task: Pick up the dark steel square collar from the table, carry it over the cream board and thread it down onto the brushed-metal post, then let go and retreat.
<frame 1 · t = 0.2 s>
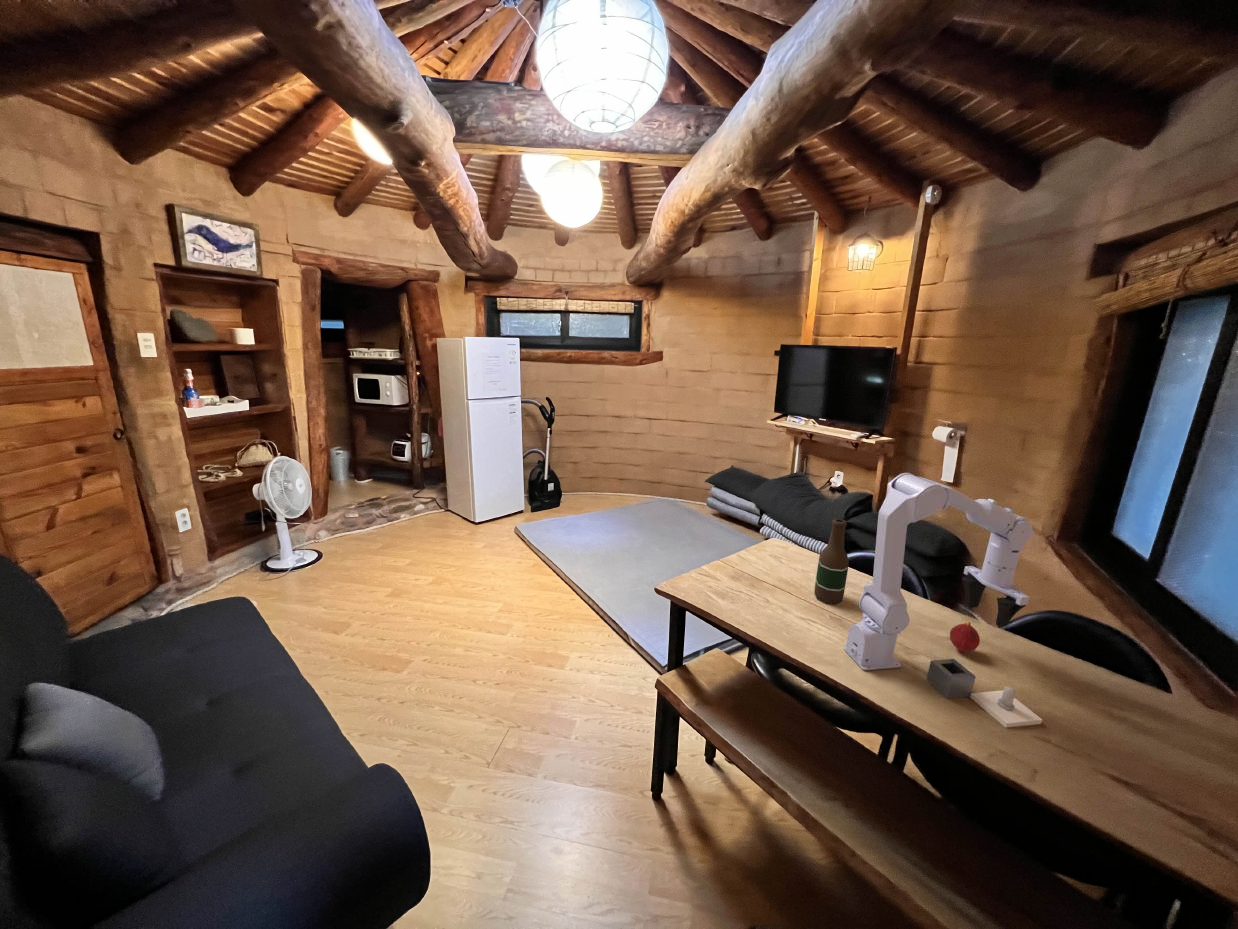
hand: (986, 615, 111), 10 cm above the table, fingers open, 7 cm apart
post block: (1004, 710, 96), on the table
collar: (948, 688, 101), on the table
onion: (961, 651, 114), on the table
beer bottle: (827, 598, 136), on the table
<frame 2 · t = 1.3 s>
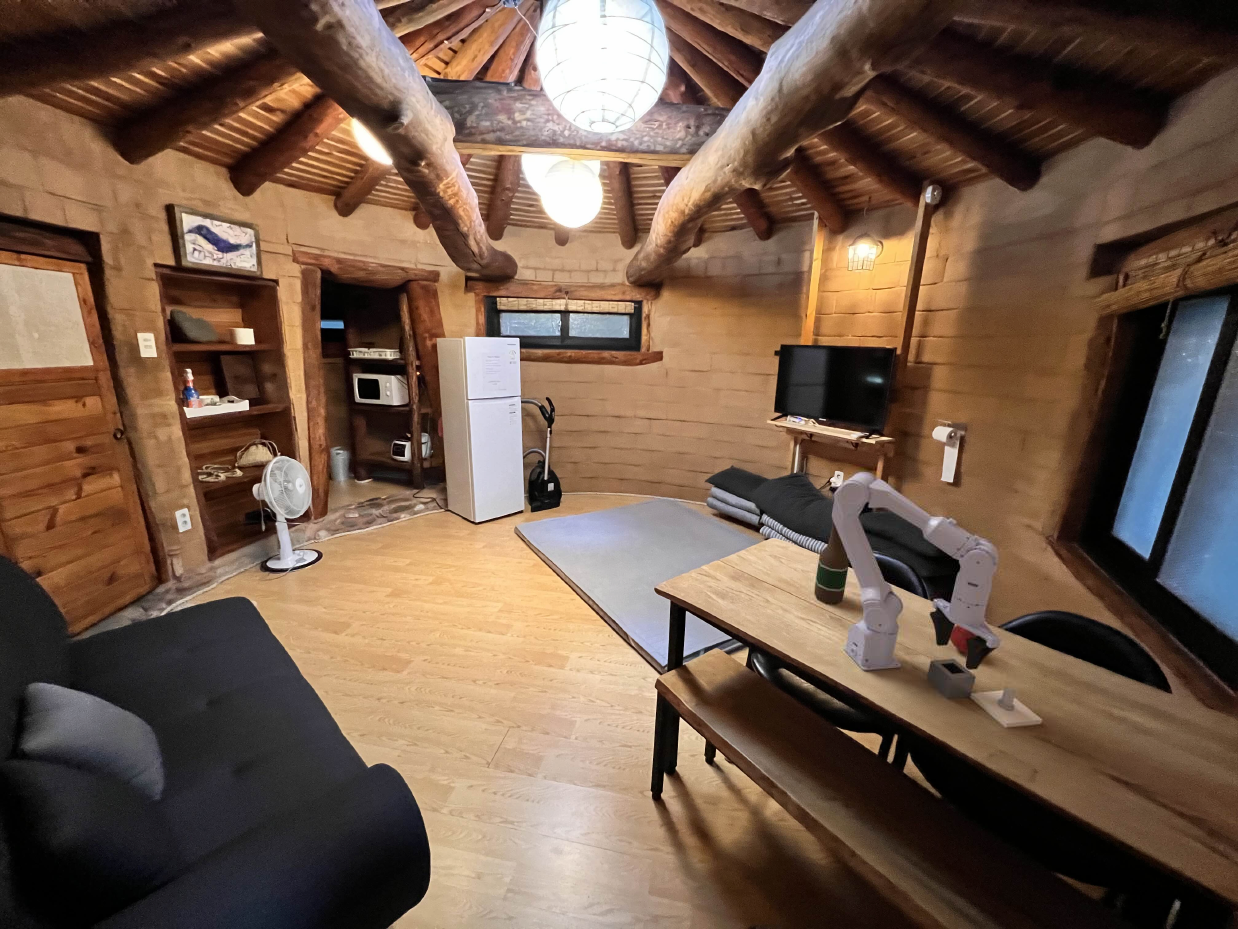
hand: (956, 656, 99), 8 cm above the table, fingers open, 7 cm apart
nothing on the table moved.
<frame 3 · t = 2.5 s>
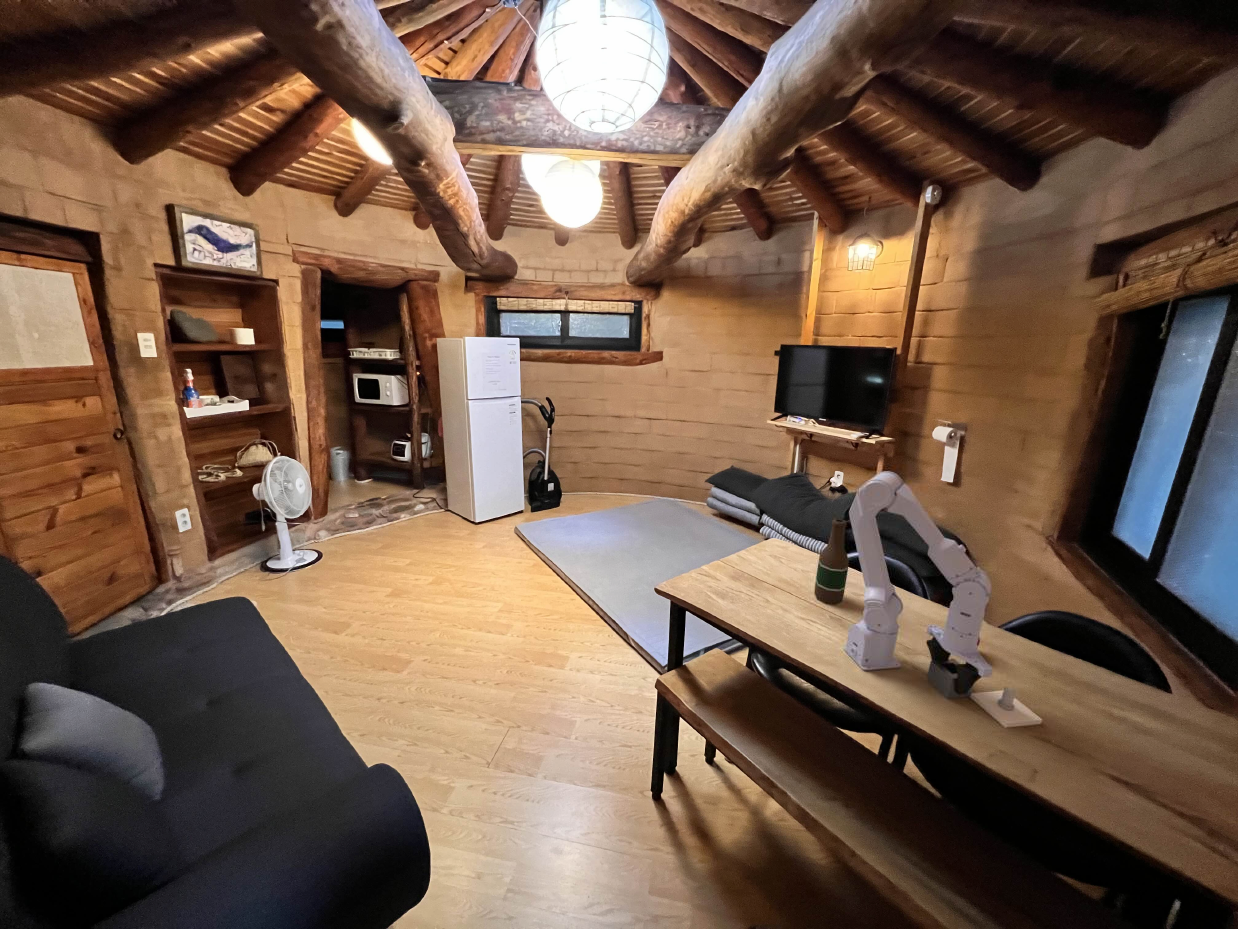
hand: (949, 682, 101), 1 cm above the table, fingers closed on collar, 6 cm apart
collar: (948, 688, 101), on the table, touching gripper
everything else where it was.
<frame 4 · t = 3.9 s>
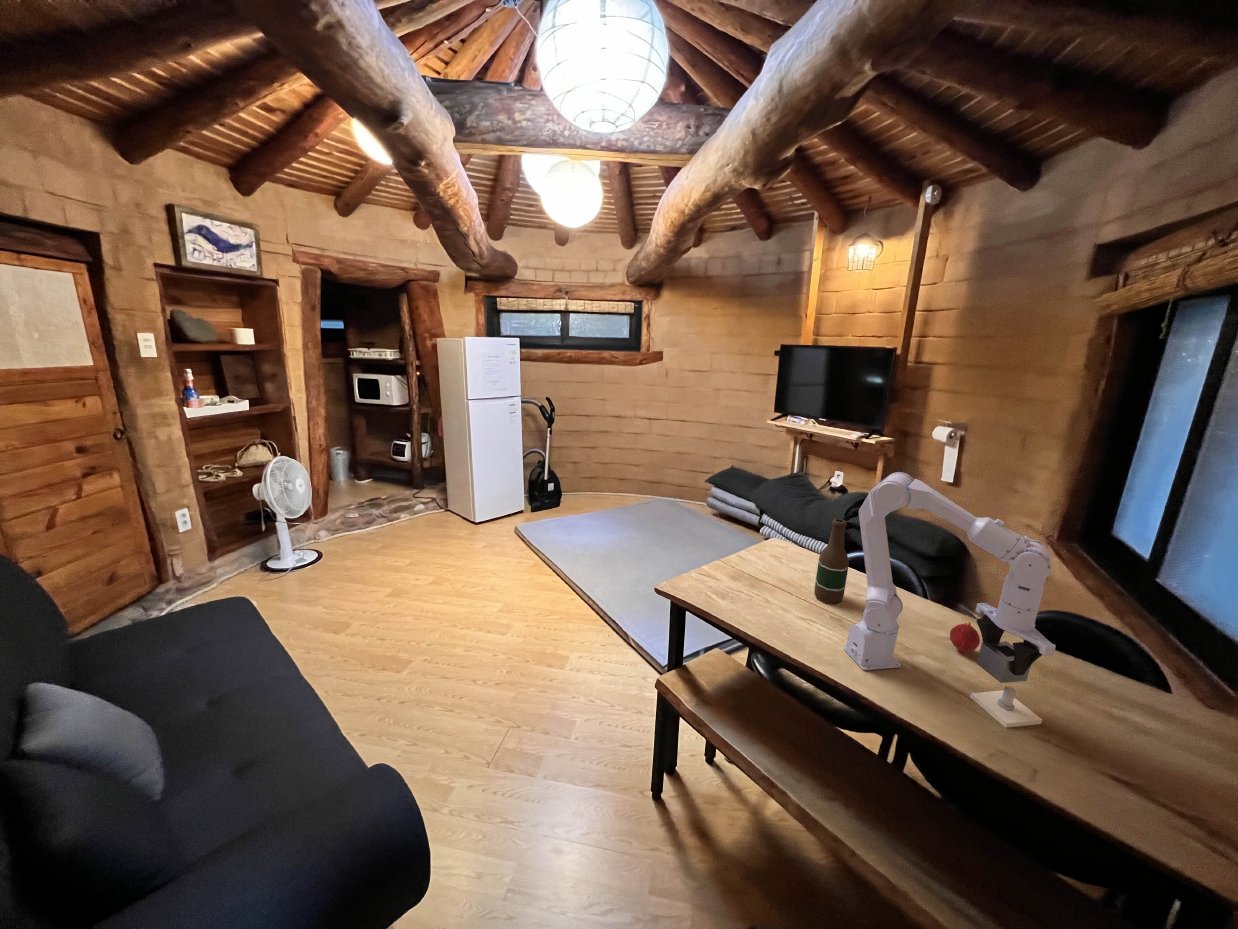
hand: (1003, 663, 94), 10 cm above the table, fingers closed on collar, 6 cm apart
collar: (1000, 672, 95), point 8 cm above the table, touching gripper
everything else where it was.
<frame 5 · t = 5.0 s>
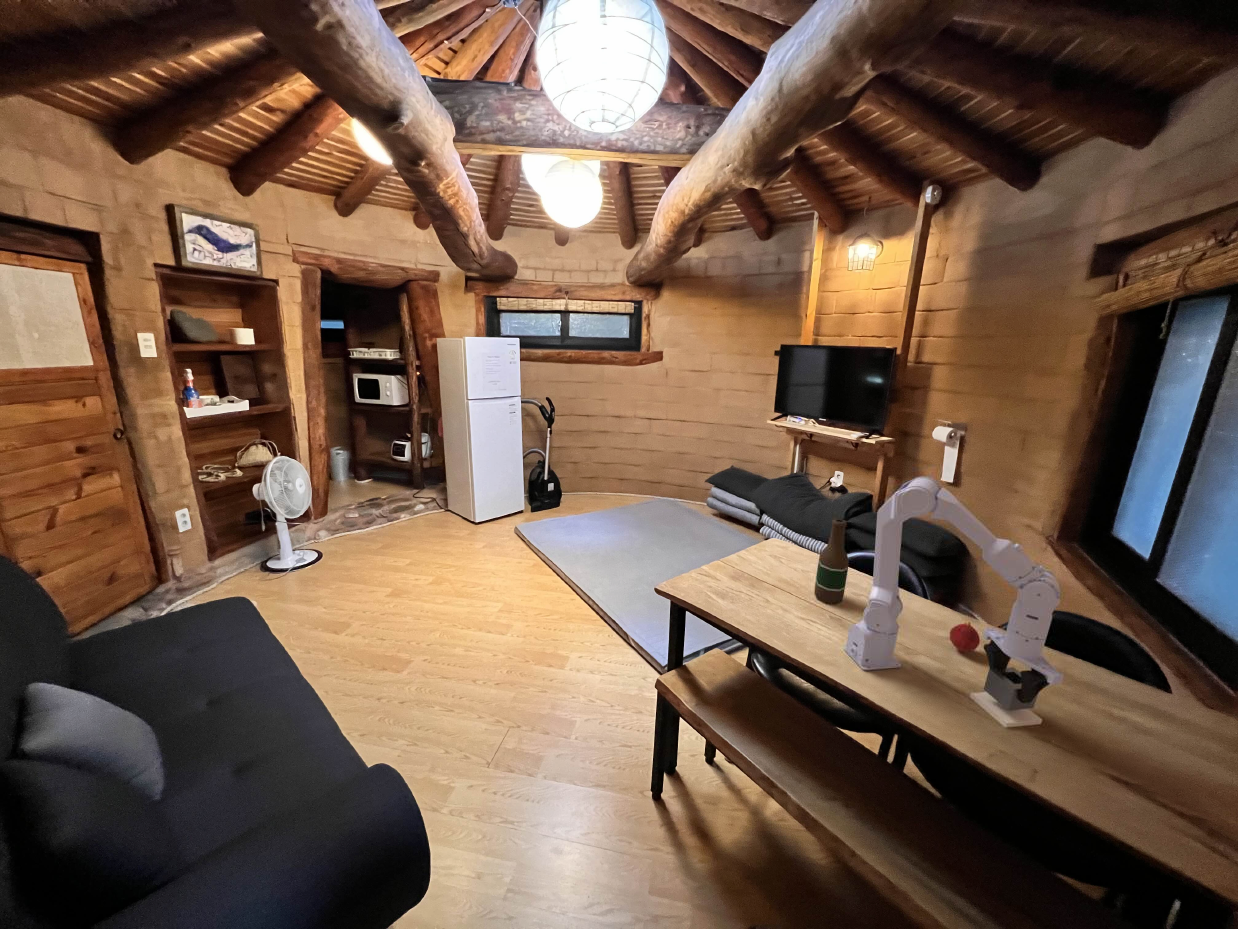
hand: (1010, 690, 94), 5 cm above the table, fingers closed on collar, 6 cm apart
collar: (1007, 698, 95), point 3 cm above the table, touching gripper
everything else where it was.
when the fingers open (4 cm above the table, at t = 5.7 s): collar drops 1 cm, resting on post block.
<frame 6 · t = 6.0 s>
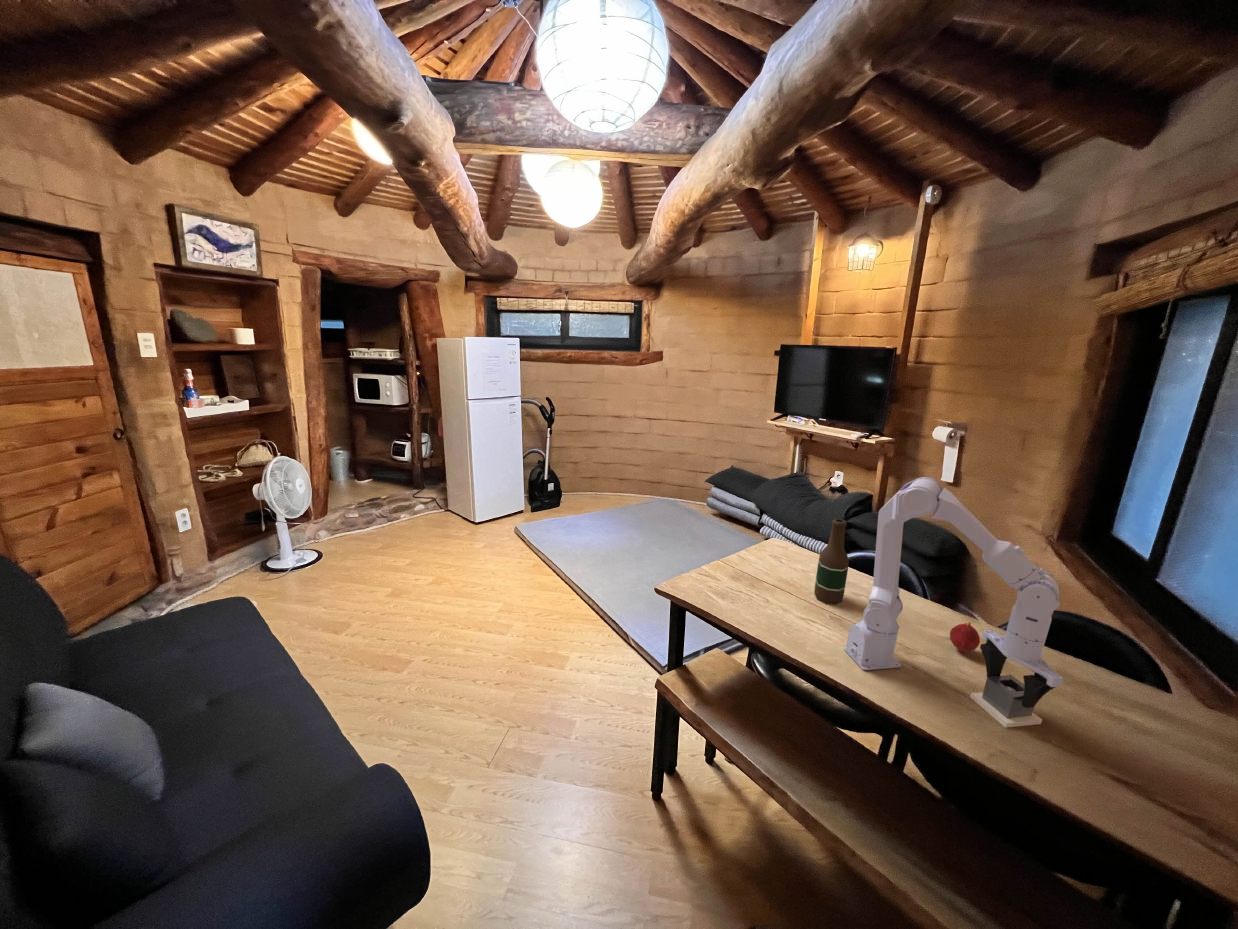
hand: (1009, 692, 94), 4 cm above the table, fingers open, 7 cm apart
collar: (1006, 706, 95), point 1 cm above the table, touching post block
everything else where it was.
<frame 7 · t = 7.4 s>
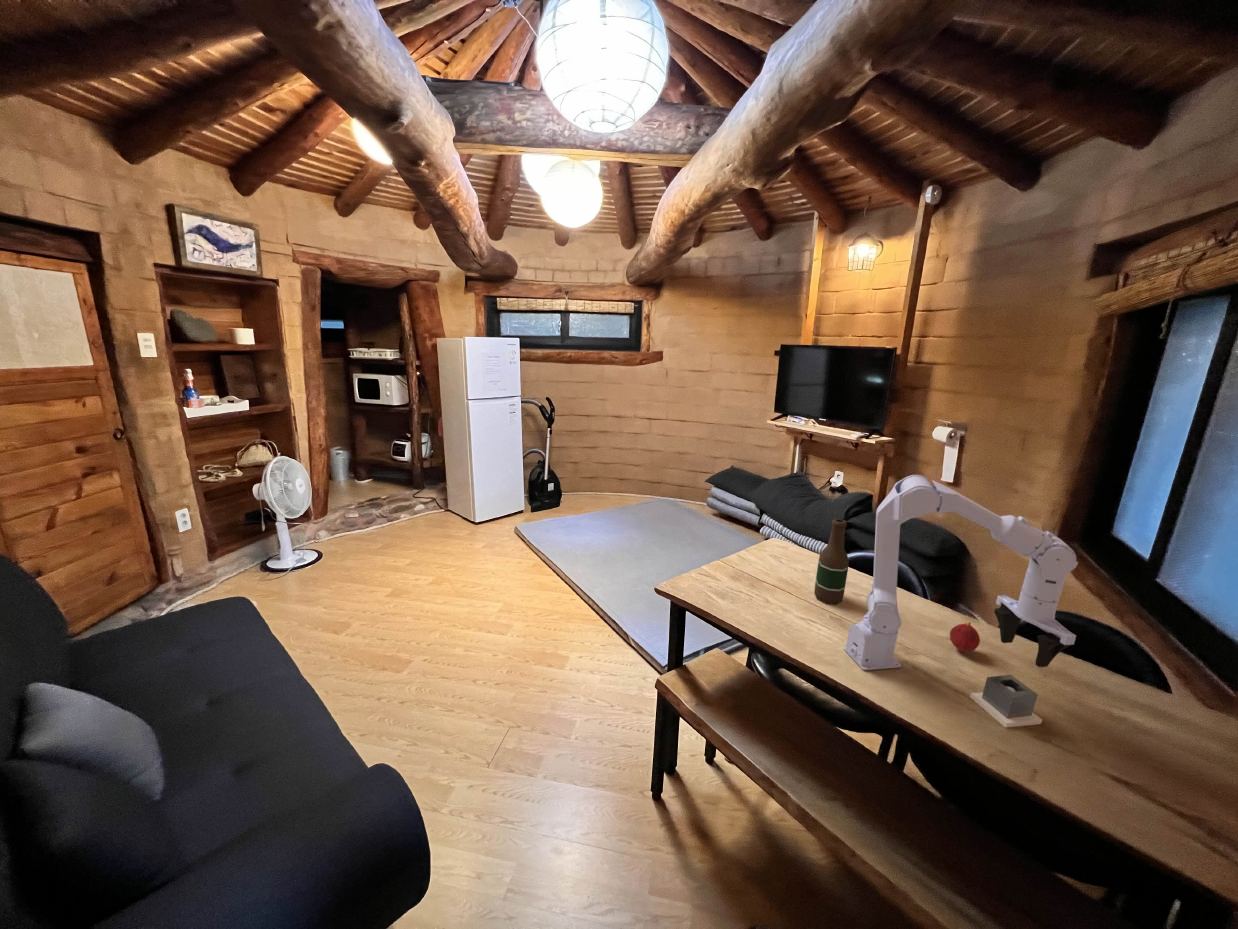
hand: (1023, 653, 98), 10 cm above the table, fingers open, 7 cm apart
nothing on the table moved.
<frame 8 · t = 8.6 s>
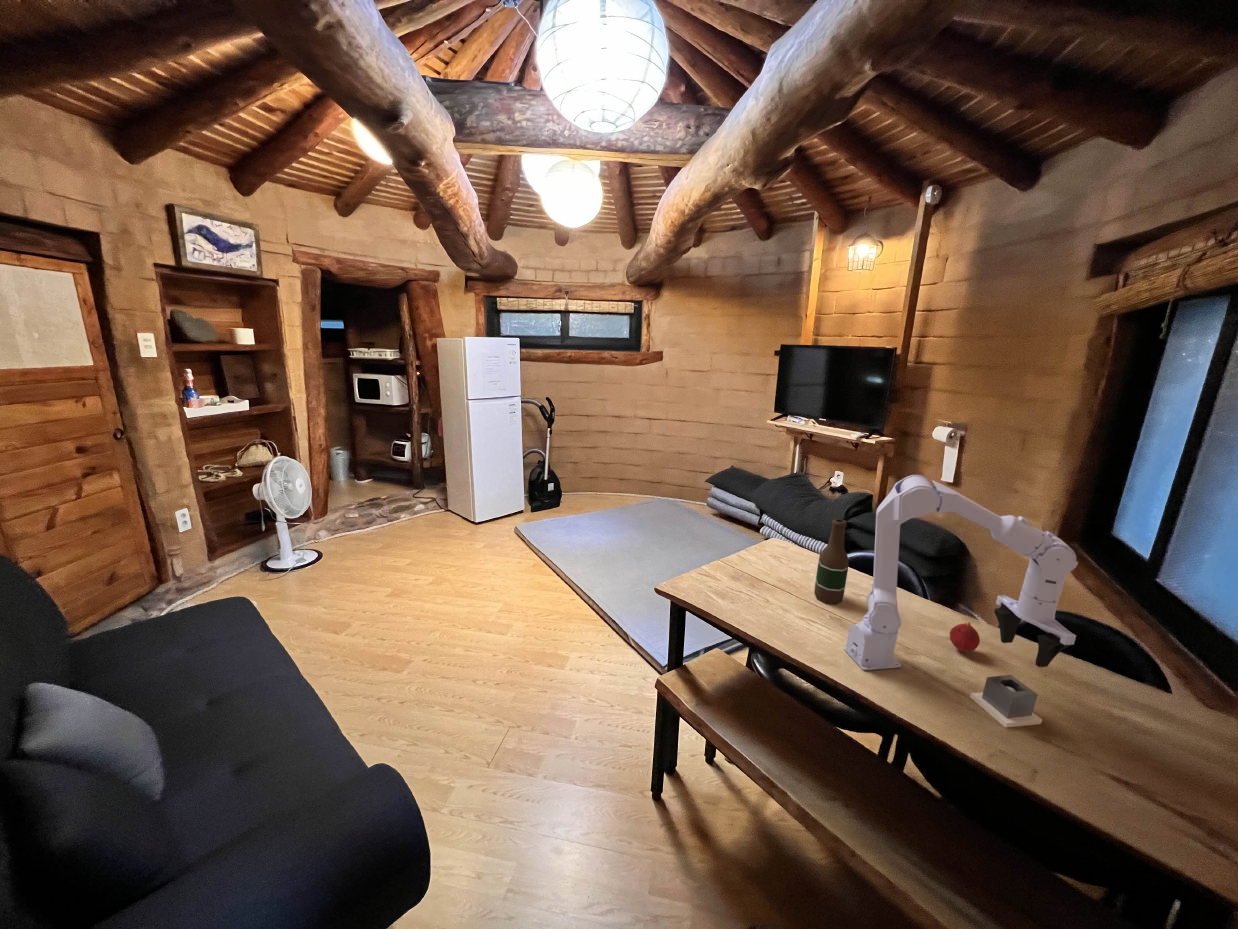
hand: (1023, 653, 98), 10 cm above the table, fingers open, 7 cm apart
nothing on the table moved.
at the end: collar 0.1 cm off-centre on the post block, point 1.0 cm above the post block's base; the gripper is holding nothing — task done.
